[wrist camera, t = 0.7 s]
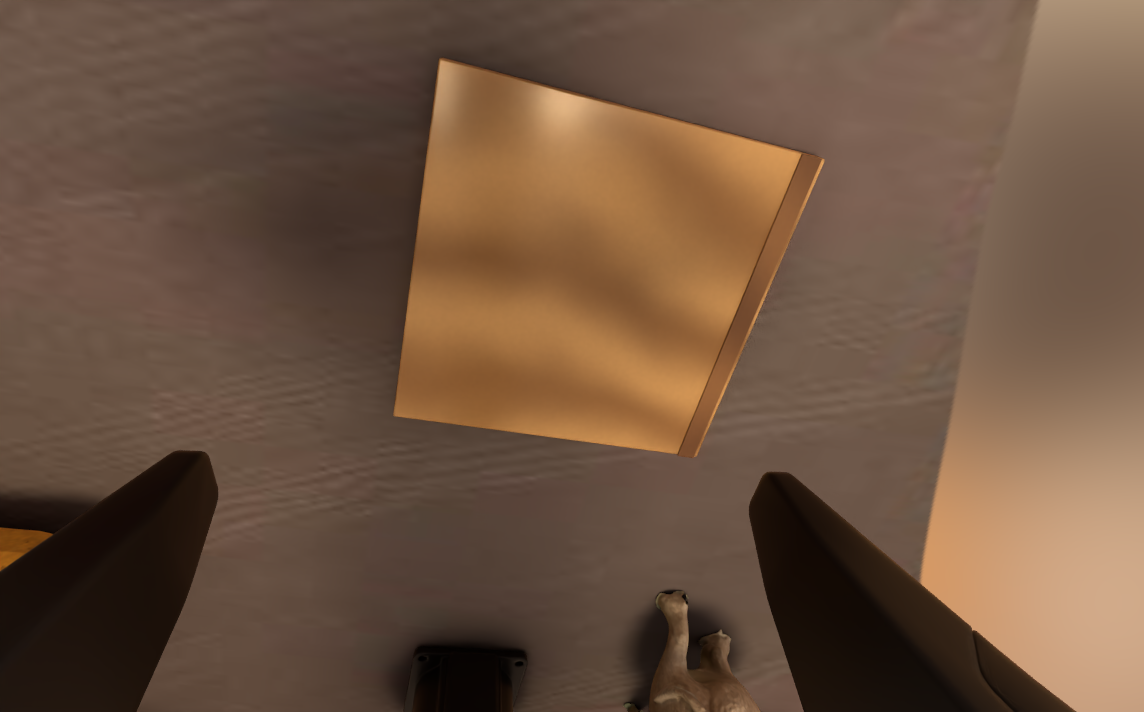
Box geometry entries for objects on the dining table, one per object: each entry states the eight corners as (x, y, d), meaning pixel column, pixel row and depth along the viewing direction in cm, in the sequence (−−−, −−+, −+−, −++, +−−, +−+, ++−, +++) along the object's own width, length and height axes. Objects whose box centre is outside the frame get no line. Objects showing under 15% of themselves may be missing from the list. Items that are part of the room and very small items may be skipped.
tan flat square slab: (693, 449, 28) (697, 458, 28) (394, 408, 26) (392, 418, 25) (818, 156, 22) (827, 160, 22) (440, 56, 19) (438, 58, 19)
